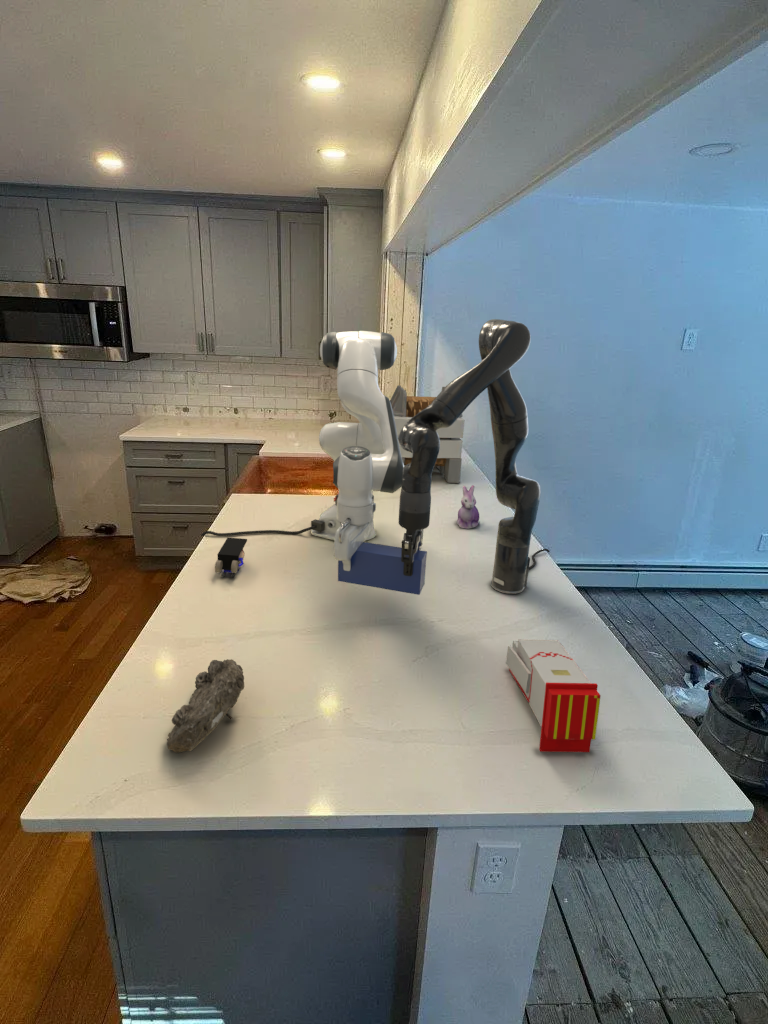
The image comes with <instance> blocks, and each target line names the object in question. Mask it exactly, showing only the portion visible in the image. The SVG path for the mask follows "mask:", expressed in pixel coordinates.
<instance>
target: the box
mask: <svg viewBox="0 0 768 1024" xmlns="http://www.w3.org/2000/svg"><path fill="white" fill-rule="evenodd" d="M413 550H414V549H413ZM401 552H402V546H401V547H400V546H393V545H388V544H381V543H373V542H368V541H367V542H366V541H365V542H363V543H362V545H361V546H360V547H359V548H358V549H357V550H356V552H355V553H354V554H353V555H352V557H351V563H352V568H351V570H350V571H345V570H344V569H343V562H342V561H340V560H337V562H338V563H337V582H341V583H347V584H353V585H359V586H363V587H364V586H365V587H371V588H375V589H382V590H387V591H388V590H389V591H393V592H400V593H405V594H411V595H418V596H420V595H421V593H422V590H423V589H424V587H425V584H426V569H427V568H426V567H427V555H428V551H426V550H422V549H421V550H417V553H416V554H415V556H414V562H413V574H412V576H405V575H404V574H403V571H404V562H401ZM406 557H409V555H407V556H406Z"/></svg>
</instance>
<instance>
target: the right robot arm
mask: <svg viewBox="0 0 768 1024" xmlns="http://www.w3.org/2000/svg"><path fill="white" fill-rule="evenodd" d="M531 337H532V336H531V332H530V329H529V327H528V326H527V325H526V324H525V323H523V322H519V321H514V320H507V319H506V320H505V319H499V318H493V319H492V318H491V319H489V320H487V321H486V322H484V323H483V325H482V327H481V328H480V331H479V334H478V350H479V354H480V355H479V356H480V359H481V361H480V362H478V363H477V364H476V365H475V366H473V367H471V368H470V369H469V370H467V371H466V372H463V373H462V374H460V375H459V376H457V377H456V378H454V379H453V380H452V381H450V382H449V383H448V384H447V385H446V386H444V387H445V388H444V389H443V390H442V389H441V391H440V392H439V393H438V394H437V396H435V397H436V398H435V399H434V400H433V402H432V403H431V404H430V405H429V406H428V407H426V408H425V409H423V410H422V411H420V412H419V413H418V414H417V415H415V416H414V417H413V418H411V419H410V420H409V421H408V422H407V423H406V424H405V425H404V426H403V428H402V429H401V431H400V434H399V444H400V446H401V447H402V448H403V449H404V450H406V451H408V452H410V453H412V454H413V456H412V461H411V463H409V464H407V465H404V468H403V471H402V486H401V488H400V495H399V504H398V525H399V526H400V527H401V528H403V529H405V530H406V531H405V532H404V533H403V537H402V540H401V542H400V544H401V548H402V552H401V562H404V571H403V574H404V575H405V576H412V574H413V562H414V556H415V554H416V553H417V550H421V551H422V547H423V540H424V539H423V538H424V530H426V529H427V528H429V526H430V523H431V522H430V521H431V520H430V519H431V505H432V495H431V494H432V477H433V476H432V474H433V472H434V469H435V467H436V466H435V463H436V460H437V457H438V453H439V449H440V440H439V436H438V434H437V432H436V430H438V429H440V428H447V427H450V426H451V425H452V424H453V423H454V422H455V421H456V420H457V419H458V417H459V416H460V415H461V414H462V415H463V413H464V412H465V411H466V410H467V408H468V407H469V406H470V405H471V404H472V403H473V401H475V399H477V397H479V396H480V394H482V393H483V392H484V391H485V390H487V397H488V404H489V413H490V414H489V415H490V425H491V432H492V433H491V434H492V439H493V449H494V462H495V463H494V464H495V495H496V499H497V501H498V503H500V504H501V505H502V506H504V507H507V508H510V509H511V510H512V509H513V510H514V515H513V516H508V517H504V518H502V519H500V520H499V522H498V526H497V535H496V542H495V543H496V544H495V550H494V551H495V552H494V560H493V568H492V577H491V582H490V586H491V588H492V589H493V590H495V591H497V592H499V593H502V594H508V595H517V594H520V593H523V592H524V590H525V589H526V588H527V584H528V578H529V577H528V576H529V571H530V570H531V569H533V568H534V567H535V566H536V564H537V561H536V558H535V557H536V556H537V555H539V554H540V553H542V552H547V553H551V552H550V549H548V548H542V549H543V550H542V549H539V550H537V551H536V552H535V553H533V554H532V555H531V557H530V556H529V554H530V547H531V546H530V545H531V540H532V534H533V533H532V532H533V529H534V526H535V524H536V521H537V516H538V511H539V505H540V500H541V495H542V492H541V485H540V483H539V482H538V481H537V480H535V479H532V478H530V477H525V476H522V475H519V473H518V470H517V457H518V454H519V452H520V451H521V449H522V447H523V445H524V444H525V442H526V440H527V438H528V435H529V415H528V408H527V405H526V402H525V400H524V398H523V396H522V394H521V392H520V389H519V388H518V385H516V383H515V380H514V378H513V375H512V372H511V368H512V367H514V365H516V364H517V363H518V362H519V361H520V360H521V359H522V358H523V357H524V356H525V355H526V353H527V352H528V350H529V348H530V345H531V341H532V338H531ZM413 549H414V550H413ZM407 555H409V557H406V556H407ZM531 559H532V561H533V563H532V564H530V563H531Z"/></svg>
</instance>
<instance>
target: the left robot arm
mask: <svg viewBox="0 0 768 1024" xmlns="http://www.w3.org/2000/svg"><path fill="white" fill-rule="evenodd" d="M319 355H320V359H321V361H322V364H323V365H324V367H326V368H327V369H332V370H334V371H336V370H337V371H336V391H337V392H336V393H337V397H338V399H339V401H340V404H341V407H342V409H343V410H344V411H345V413H347V414H348V415H350V416H352V417H354V418H355V419H356V420H357V421H358V422H348V421H336V422H330V423H325V424H324V425H323V426H322V427H321V429H320V431H319V434H318V442H319V446H320V448H321V450H322V451H323V452H324V453H325V454H327V455H328V456H329V457H330V459H332V461H333V463H332V469H333V470H332V471H333V478H332V479H333V480H332V484H333V486H335V488H337V489H338V492H337V494H336V495H335V496H334V497H333V502H334V504H333V505H331V506H329V507H328V508H326V509H325V510H323V512H321V514H320V515H319V517H318V519H316V518H315V519H312V520H311V521H310V526H309V527H306V528H302V529H300V530H295V531H292V530H291V531H288V530H279V529H278V530H277V529H276V530H275V529H264V530H263V529H262V530H260V529H259V530H246V531H234V532H215V531H212V530H205V531H204V532H202V533H201V534H200V536H201V537H205V536H206V535H213V536H216V537H230V536H241V535H256V534H281V535H282V534H284V535H300V534H303V533H305V532H309V531H310V533H311V536H315V537H319V538H323V539H326V540H330V541H334V542H333V558H334V560H336V561H338V560H340V561H342V562H343V569H344V570H345V571H350V570H351V568H352V563H351V557H352V555H353V554H354V553H355V552H356V550H357V549H358V548H359V547H360V546H361V545H362V543H363V542H366V541H368V540H372V539H373V538H375V537H376V535H377V532H376V528H375V523H374V518H375V517H374V516H375V512H376V510H377V503H376V502H375V496H374V492H380V493H388V494H394V493H395V492H397V491H398V490H400V489H401V486H402V471H403V468H404V466H405V465H404V464H403V461H402V457H401V453H400V448H399V442H398V437H397V431H396V425H395V420H394V415H393V410H392V406H391V403H390V400H391V399H389V397H388V396H386V395H384V394H383V392H382V390H381V388H380V386H379V371H385V370H389V369H390V368H392V367H393V366H394V364H395V361H396V360H397V355H398V346H397V343H396V339H395V337H394V336H393V335H392V334H391V333H387V332H383V331H381V332H378V331H377V332H376V331H370V330H359V331H357V330H354V331H353V330H352V331H351V330H350V331H338V332H337V331H330V332H326V334H324V336H322V340H321V342H320V345H319ZM378 370H379V371H378Z"/></svg>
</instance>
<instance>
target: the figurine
mask: <svg viewBox="0 0 768 1024" xmlns="http://www.w3.org/2000/svg"><path fill="white" fill-rule="evenodd" d="M474 492H475V485H474V484H472V485H471V486H470V487H469V489H468V488H467V487H466V485H463V486H462V497H461V500H460V503H461V508H459V509H458V510H457V511H458V512H457V520H456V524H457V526H459V528H460V529H467V530H468V529H473V528H476V527H477V526H478V525H479V522H480V512H479V509H478V507H477V506H476V505H477V500H476V497H475V495H474Z"/></svg>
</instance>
